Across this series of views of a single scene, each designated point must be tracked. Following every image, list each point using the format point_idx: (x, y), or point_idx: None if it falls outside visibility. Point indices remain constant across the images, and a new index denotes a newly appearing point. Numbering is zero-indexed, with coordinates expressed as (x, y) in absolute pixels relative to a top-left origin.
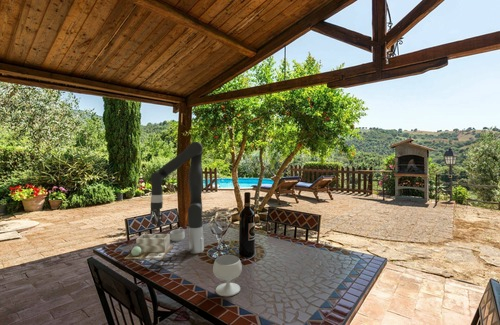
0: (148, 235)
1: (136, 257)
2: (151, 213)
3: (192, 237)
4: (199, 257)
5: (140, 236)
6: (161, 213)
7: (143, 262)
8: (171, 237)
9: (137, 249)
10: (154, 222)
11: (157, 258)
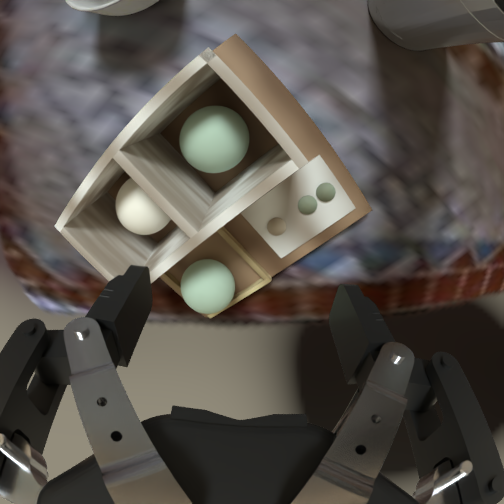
0: (85, 197)
1: (250, 289)
2: (48, 426)
3: (483, 42)
4: (472, 78)
5: (93, 258)
6: (487, 471)
7: (295, 266)
8: (121, 11)
9: (227, 299)
10: (142, 289)
11: (344, 222)
